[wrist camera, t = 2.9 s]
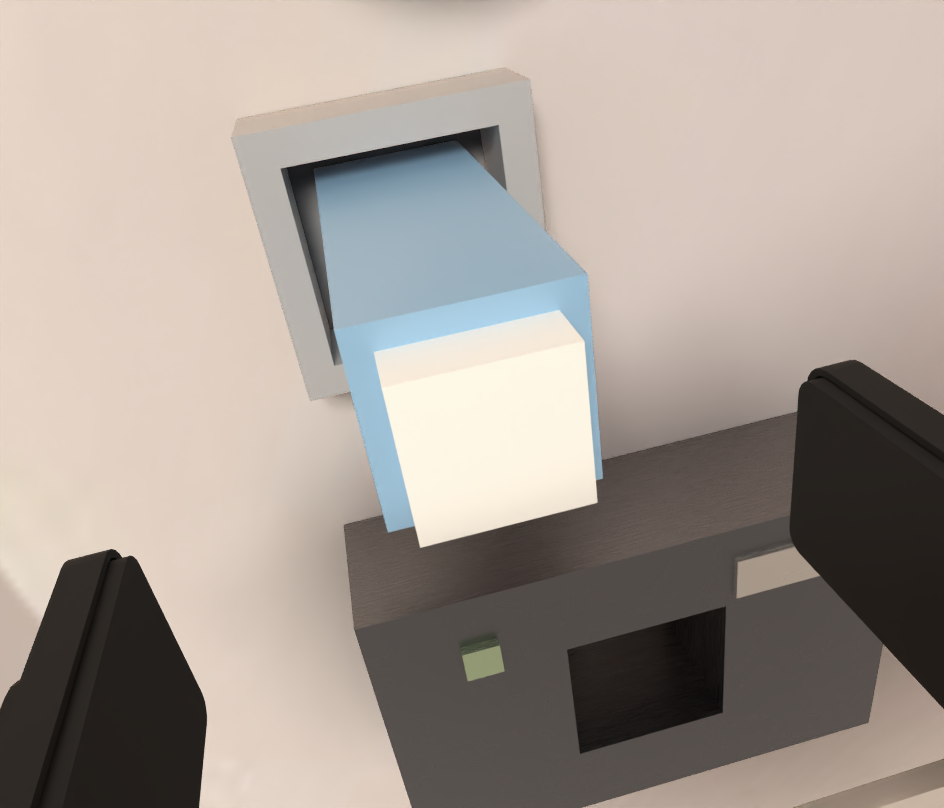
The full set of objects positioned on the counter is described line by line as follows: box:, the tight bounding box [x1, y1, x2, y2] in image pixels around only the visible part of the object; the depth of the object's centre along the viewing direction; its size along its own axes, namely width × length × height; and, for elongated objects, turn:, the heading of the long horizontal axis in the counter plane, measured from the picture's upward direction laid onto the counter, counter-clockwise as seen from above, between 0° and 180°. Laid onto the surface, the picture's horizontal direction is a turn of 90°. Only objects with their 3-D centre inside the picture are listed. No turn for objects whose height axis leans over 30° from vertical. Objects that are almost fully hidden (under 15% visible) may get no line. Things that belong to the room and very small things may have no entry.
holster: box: [231, 68, 545, 401], centre depth 21 cm, size 7×7×2 cm
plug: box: [314, 140, 603, 548], centre depth 17 cm, size 4×4×12 cm
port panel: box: [344, 412, 883, 808], centre depth 29 cm, size 18×12×5 cm, turn 99°
